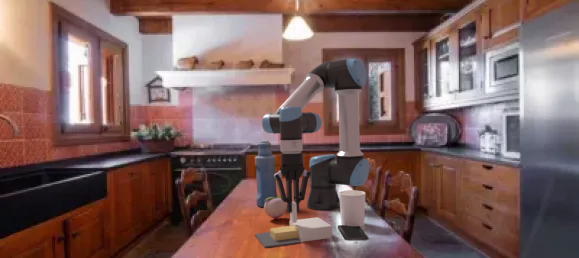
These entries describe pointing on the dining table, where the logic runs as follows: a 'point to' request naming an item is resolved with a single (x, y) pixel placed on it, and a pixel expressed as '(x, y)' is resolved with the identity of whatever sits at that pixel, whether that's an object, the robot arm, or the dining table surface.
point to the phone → (352, 232)
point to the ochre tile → (283, 233)
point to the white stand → (312, 229)
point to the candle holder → (352, 207)
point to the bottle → (265, 173)
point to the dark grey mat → (270, 242)
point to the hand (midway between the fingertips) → (293, 221)
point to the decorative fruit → (275, 207)
